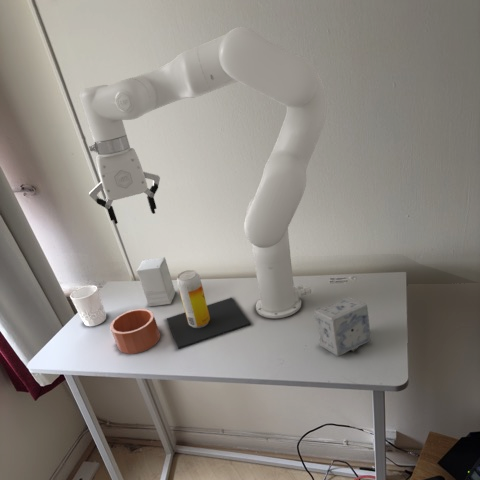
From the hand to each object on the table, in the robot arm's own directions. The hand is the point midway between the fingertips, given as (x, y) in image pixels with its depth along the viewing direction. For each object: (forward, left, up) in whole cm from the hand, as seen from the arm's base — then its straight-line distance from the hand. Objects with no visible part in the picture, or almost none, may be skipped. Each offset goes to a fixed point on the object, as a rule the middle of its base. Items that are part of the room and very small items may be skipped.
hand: (134, 217), depth 107 cm
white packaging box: (-1, -11, -31) cm, 32 cm away
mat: (-10, +10, -30) cm, 33 cm away
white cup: (+20, -11, -31) cm, 38 cm away
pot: (+9, +8, -30) cm, 33 cm away
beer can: (-8, +10, -30) cm, 33 cm away
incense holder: (-36, +38, -31) cm, 61 cm away
